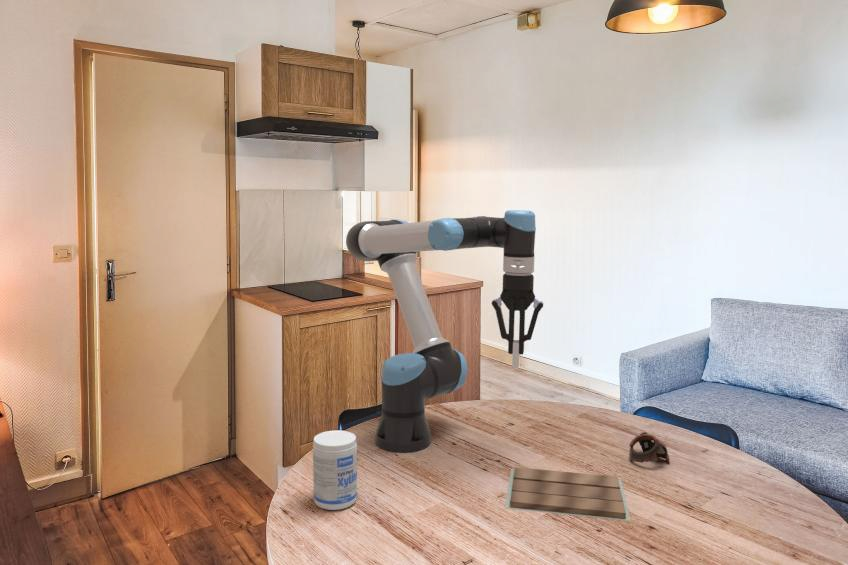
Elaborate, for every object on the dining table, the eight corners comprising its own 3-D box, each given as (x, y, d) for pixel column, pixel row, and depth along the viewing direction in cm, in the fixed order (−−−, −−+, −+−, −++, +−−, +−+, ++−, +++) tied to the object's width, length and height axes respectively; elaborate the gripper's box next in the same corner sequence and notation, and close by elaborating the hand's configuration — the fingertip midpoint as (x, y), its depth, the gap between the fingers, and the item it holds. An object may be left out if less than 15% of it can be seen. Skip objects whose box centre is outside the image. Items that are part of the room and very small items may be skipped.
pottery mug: (677, 472, 159) (667, 447, 156) (641, 485, 161) (630, 461, 158) (662, 442, 170) (652, 418, 168) (628, 454, 172) (617, 431, 169)
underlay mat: (505, 509, 139) (505, 507, 139) (510, 470, 158) (510, 469, 158) (630, 522, 134) (630, 520, 134) (620, 481, 153) (621, 479, 153)
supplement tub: (346, 515, 136) (345, 449, 134) (305, 508, 139) (304, 443, 137) (364, 494, 145) (363, 432, 143) (325, 488, 148) (324, 427, 146)
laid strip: (510, 506, 139) (510, 501, 139) (511, 495, 144) (511, 490, 144) (625, 518, 134) (625, 513, 134) (623, 507, 139) (623, 501, 139)
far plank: (513, 482, 151) (513, 477, 150) (514, 471, 156) (514, 467, 156) (619, 492, 146) (620, 487, 146) (617, 481, 152) (617, 476, 152)
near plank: (511, 495, 144) (511, 490, 144) (513, 483, 150) (513, 479, 150) (622, 506, 140) (623, 501, 139) (620, 494, 145) (620, 489, 145)
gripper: (490, 274, 156) (488, 369, 159) (545, 276, 153) (541, 372, 157) (493, 270, 163) (490, 361, 166) (545, 272, 160) (542, 364, 164)
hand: (515, 366), depth 161 cm, fingers closed
